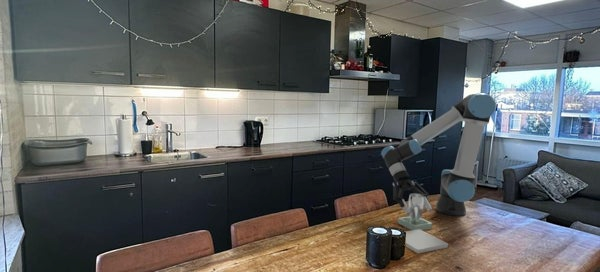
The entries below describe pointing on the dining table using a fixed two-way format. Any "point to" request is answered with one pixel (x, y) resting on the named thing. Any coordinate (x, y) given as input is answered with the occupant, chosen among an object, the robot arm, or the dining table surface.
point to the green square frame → (422, 226)
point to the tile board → (423, 241)
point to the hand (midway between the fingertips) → (419, 211)
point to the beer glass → (415, 208)
